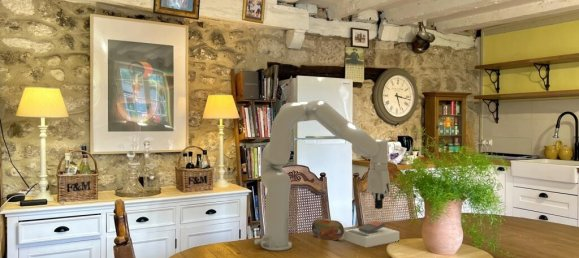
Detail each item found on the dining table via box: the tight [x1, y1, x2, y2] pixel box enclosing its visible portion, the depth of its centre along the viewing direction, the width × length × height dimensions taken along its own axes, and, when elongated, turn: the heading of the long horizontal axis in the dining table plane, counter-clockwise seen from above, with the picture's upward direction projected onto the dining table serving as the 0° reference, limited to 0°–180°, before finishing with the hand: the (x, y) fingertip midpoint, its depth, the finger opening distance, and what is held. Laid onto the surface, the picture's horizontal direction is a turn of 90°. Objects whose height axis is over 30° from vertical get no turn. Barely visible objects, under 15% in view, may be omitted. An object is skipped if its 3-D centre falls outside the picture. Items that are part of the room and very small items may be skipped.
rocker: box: [358, 220, 386, 233], centre depth 188 cm, size 10×6×1 cm, turn 124°
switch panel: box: [343, 226, 400, 248], centre depth 188 cm, size 20×14×5 cm
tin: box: [311, 218, 345, 241], centre depth 190 cm, size 15×3×8 cm, turn 57°
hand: (378, 208), depth 190 cm, fingers closed
